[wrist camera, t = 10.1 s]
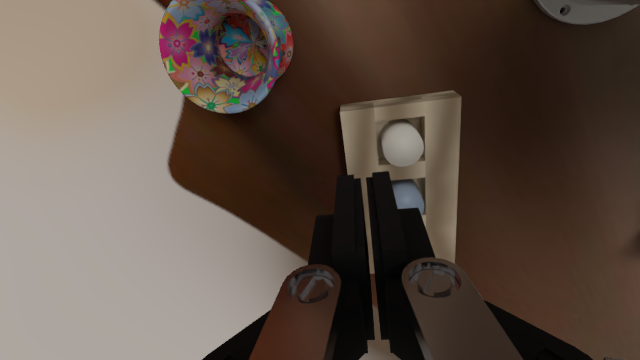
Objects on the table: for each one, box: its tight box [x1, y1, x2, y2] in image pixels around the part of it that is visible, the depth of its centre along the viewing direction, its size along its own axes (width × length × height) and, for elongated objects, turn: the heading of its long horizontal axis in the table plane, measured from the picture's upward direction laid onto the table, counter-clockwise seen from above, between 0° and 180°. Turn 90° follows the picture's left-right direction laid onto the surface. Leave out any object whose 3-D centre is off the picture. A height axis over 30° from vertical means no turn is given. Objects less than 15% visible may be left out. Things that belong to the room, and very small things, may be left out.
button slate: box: [391, 179, 424, 215], centre depth 38 cm, size 4×4×4 cm
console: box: [340, 90, 462, 274], centre depth 39 cm, size 12×22×3 cm, turn 9°
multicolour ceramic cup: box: [159, 0, 293, 113], centre depth 29 cm, size 12×9×11 cm
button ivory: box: [380, 119, 424, 167], centre depth 35 cm, size 4×4×4 cm
